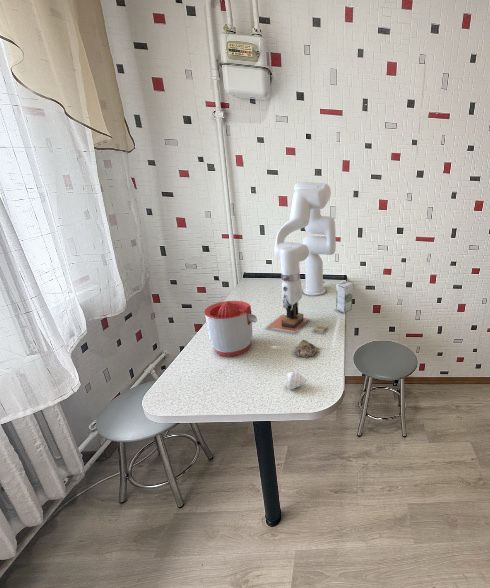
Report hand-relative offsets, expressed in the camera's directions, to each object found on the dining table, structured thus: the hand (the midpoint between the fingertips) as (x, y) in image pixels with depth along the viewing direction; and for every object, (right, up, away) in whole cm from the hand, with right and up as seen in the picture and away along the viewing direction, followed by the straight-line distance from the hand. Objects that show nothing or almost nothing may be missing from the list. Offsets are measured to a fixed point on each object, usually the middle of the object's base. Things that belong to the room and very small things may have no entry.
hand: (292, 315), depth 146 cm
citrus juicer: (-17, -12, -19) cm, 28 cm away
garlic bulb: (+12, -21, -38) cm, 45 cm away
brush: (0, -3, +1) cm, 4 cm away
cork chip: (+13, -7, -2) cm, 14 cm away
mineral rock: (+10, -13, -18) cm, 24 cm away
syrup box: (+20, +1, +20) cm, 28 cm away
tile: (-2, -4, +2) cm, 5 cm away
